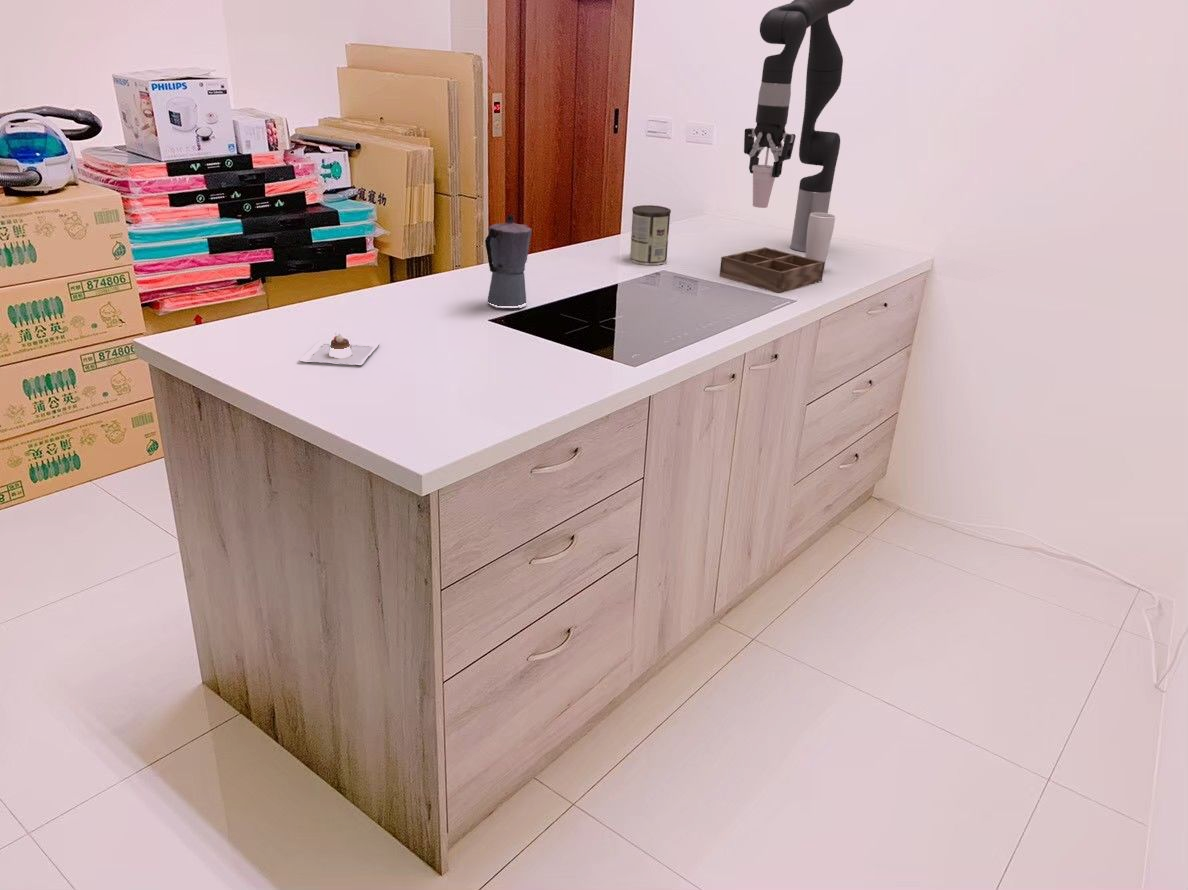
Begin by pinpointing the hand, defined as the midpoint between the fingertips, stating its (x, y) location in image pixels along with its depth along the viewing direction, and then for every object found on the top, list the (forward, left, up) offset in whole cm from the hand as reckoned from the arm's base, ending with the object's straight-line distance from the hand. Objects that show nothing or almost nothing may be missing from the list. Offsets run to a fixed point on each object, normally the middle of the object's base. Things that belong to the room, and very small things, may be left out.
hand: (764, 174), depth 217 cm
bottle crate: (-3, +4, -26) cm, 26 cm away
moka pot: (+68, -17, -26) cm, 75 cm away
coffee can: (+11, -27, -26) cm, 39 cm away
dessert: (+112, -12, -27) cm, 116 cm away
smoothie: (0, 0, -8) cm, 8 cm away
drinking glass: (-20, +6, -26) cm, 34 cm away
